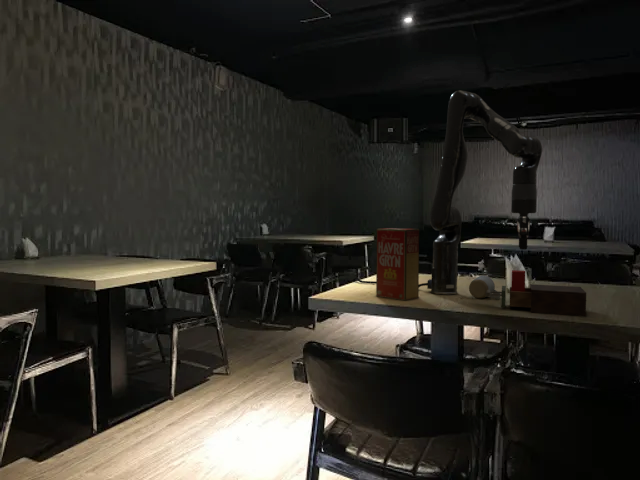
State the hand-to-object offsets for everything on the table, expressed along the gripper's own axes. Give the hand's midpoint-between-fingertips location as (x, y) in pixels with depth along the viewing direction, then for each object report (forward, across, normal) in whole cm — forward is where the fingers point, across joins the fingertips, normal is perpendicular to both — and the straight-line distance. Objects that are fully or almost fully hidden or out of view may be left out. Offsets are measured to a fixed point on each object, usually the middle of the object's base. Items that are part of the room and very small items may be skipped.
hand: (522, 248), depth 159 cm
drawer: (+18, +1, -2) cm, 19 cm away
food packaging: (+19, -4, -42) cm, 46 cm away
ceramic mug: (+19, -15, -12) cm, 27 cm away
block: (+17, +1, -1) cm, 17 cm away
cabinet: (+19, +1, +10) cm, 22 cm away
